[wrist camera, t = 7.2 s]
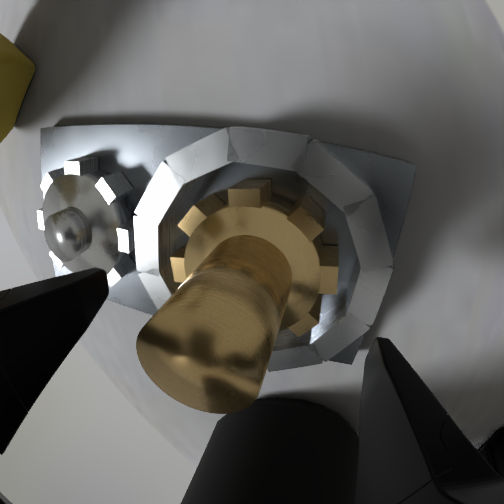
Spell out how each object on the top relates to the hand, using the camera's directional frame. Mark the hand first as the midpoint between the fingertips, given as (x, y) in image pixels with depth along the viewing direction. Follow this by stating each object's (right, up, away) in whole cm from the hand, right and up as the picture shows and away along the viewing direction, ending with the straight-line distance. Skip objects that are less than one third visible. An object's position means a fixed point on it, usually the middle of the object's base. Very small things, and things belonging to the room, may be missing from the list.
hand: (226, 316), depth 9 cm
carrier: (-3, +3, +6) cm, 7 cm away
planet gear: (+1, +2, +4) cm, 5 cm away
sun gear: (-7, +4, +6) cm, 11 cm away
